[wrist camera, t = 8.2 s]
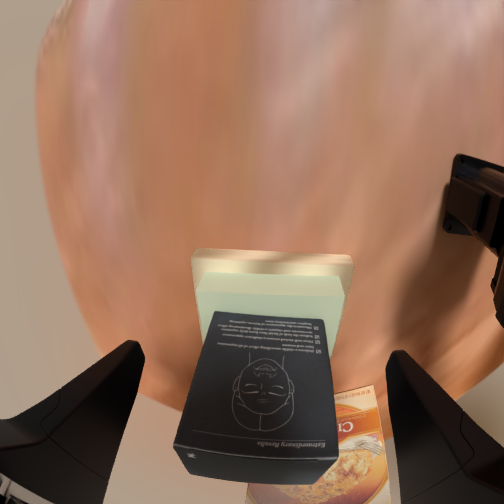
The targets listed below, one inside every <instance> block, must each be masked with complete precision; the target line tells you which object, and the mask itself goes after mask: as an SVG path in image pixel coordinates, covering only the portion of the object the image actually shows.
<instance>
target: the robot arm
mask: <svg viewBox="0 0 504 504" xmlns="http://www.w3.org/2000/svg"><path fill="white" fill-rule="evenodd" d="M461 158H462V162H461V163H460V159H461ZM503 173H504V167H502V166H500V165H497V164H494V163H491V162H487V161H484V160H481V159H478V158H474V157H471V156H468V155H464V154H457V155H456V157H455V162H454V170H453V176H452V180H451V186H450V191H449V197H448V202H447V207H446V213H445V218H444V222H443V230H444V231H445V232H447V233H452V234H462V235H471V236H475V237H476V238H477V239H478V240H479V241H480V242H481V243H483V244H484V245H485V246H486V247H487V248H488V249H489V250H490V251H491V252H493V253H494V254H495V255H496V256H497V257H498V262H497V267H496V271H495V275H494V278H493V279H492V281H491V285H490V286H491V289H492V291H493V294H494V299H493V301H494V305H495V309H496V311H497V312H496V315H495V316H496V318H497V320H498V321H499V323H500V324H501V326H502V327H503V328H504V174H503ZM448 225H450V226H449V228H447V227H448ZM144 363H145V356H144V353H143V351H142V348H141V346H140V344H139V342H138V341H134V340H127V341H125V342H124V343H123V344H121V345H120V346H118V347H117V348H116V349H114V350H113V351H111V352H110V353H109V354H107V355H106V356H105V357H103V358H102V359H100V360H99V361H98V362H97V363H95V364H93V365H92V366H91V367H89V368H88V369H86V370H85V371H84V372H82V373H81V374H80V375H78V376H77V377H75V378H74V379H73V380H71V381H70V382H68V383H67V384H66V385H64V386H63V387H62V388H61V389H59V390H57V391H56V392H54V393H53V394H52V395H50V396H49V397H47V398H46V399H44V400H43V401H41V402H39V403H38V404H36V405H34V406H33V407H31V408H29V409H27V410H26V411H24V412H22V413H20V414H19V415H17V416H15V417H13V418H10V419H3V420H2V419H0V504H103V500H104V497H105V493H106V489H107V486H108V481H109V478H110V475H111V471H112V468H113V465H114V462H115V458H116V455H117V452H118V449H119V446H120V442H121V439H122V436H123V433H124V430H125V427H126V424H127V421H128V418H129V416H130V413H131V410H132V407H133V404H134V401H135V398H136V395H137V392H138V387H139V383H140V379H141V375H142V371H143V367H144ZM386 381H387V393H388V405H389V413H390V419H391V424H392V430H393V437H394V443H395V450H396V457H397V466H398V474H399V483H400V496H401V504H504V448H503V447H502V446H501V445H500V444H499V443H498V442H497V441H495V440H494V439H493V438H492V437H491V436H490V435H488V434H487V433H486V432H485V431H484V430H483V429H482V428H481V427H480V426H478V425H477V424H476V423H475V422H474V421H473V420H472V419H471V418H470V417H469V416H468V414H467V413H465V411H463V409H462V408H461V407H460V406H459V405H458V404H457V403H456V402H455V401H454V400H453V399H452V398H451V397H450V396H449V395H448V394H447V393H446V392H445V391H444V390H443V389H442V387H441V386H440V385H439V384H438V383H437V382H436V381H435V380H434V379H433V378H432V377H431V376H430V375H429V374H428V373H427V372H426V371H425V370H424V369H423V368H422V367H421V366H420V365H419V364H418V363H417V362H416V361H415V360H414V359H413V358H412V357H411V356H410V355H409V354H408V353H407V352H406V351H404V350H394V351H393V352H392V353H391V355H390V358H389V360H388V362H387V365H386Z"/></svg>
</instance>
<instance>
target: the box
mask: <svg viewBox="0 0 504 504" xmlns="http://www.w3.org/2000/svg"><path fill="white" fill-rule="evenodd" d="M173 448H174V450H175V451H176V452H177V454H178V456H179V457H180V459H181V461H182V463H183V464H184V466H185V468H186V469H187V471H188V472H189V473H190V474H193V475H197V476H204V477H209V478H215V479H222V480H228V481H236V482H246V483H257V484H275V485H313V484H314V483H315V482H316V481H317V480H318V479H319V478H320V477H321V476H322V475H323V474H324V473H325V472H326V471H327V470H328V469H329V468H330V467H331V466H332V465H333V464H334V463H335V462H336V461H337V459H338V457H339V443H338V430H337V419H336V410H335V398H334V392H333V381H332V371H331V365H330V357H329V350H328V344H327V336H326V329H325V323H324V320H322V319H311V318H294V317H278V316H265V315H253V314H241V313H231V312H222V311H214V313H213V316H212V319H211V323H210V325H209V328H208V332H207V335H206V338H205V341H204V344H203V347H202V351H201V354H200V357H199V360H198V364H197V367H196V370H195V374H194V377H193V380H192V383H191V386H190V390H189V394H188V396H187V400H186V403H185V407H184V410H183V413H182V417H181V420H180V423H179V426H178V430H177V434H176V437H175V440H174V443H173Z"/></svg>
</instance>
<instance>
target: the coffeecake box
mask: <svg viewBox="0 0 504 504" xmlns="http://www.w3.org/2000/svg"><path fill="white" fill-rule="evenodd" d="M334 398H335V410H336V419H337V430H338V443H339V457H338V459H337V461H336V462H335V463H334V464H333V465H332V466H331V467H330V468H329V469H328V470H327V471H326V472H325V473H324V474H323V475H322V476H321V477H320V478H319V479H318V480H317V481H316V482H315V483H314V484H313V485H275V484H257V483H248V487H247V493H246V500H245V504H391V495H390V485H389V476H388V468H387V460H386V453H385V446H384V440H383V433H382V427H381V422H380V416H379V411H378V406H377V401H376V396H375V392H374V388H373V385H370V386H366V387H363V388H359V389H355V390H351V391H347V392H342V393H338V394H334Z"/></svg>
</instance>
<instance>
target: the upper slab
mask: <svg viewBox="0 0 504 504" xmlns="http://www.w3.org/2000/svg"><path fill="white" fill-rule="evenodd" d="M196 295H197V301H198V307H199V313H200V318H201V324H202V330H203V335H204V340H205V338H206V335H207V332H208V328H209V325H210V323H211V319H212V316H213V313H214V311H222V312H231V313H241V314H253V315H265V316H278V317H294V318H311V319H322V320H324V323H325V329H326V336H327V344H328V350H329V357H330V358H331V354H332V351H333V347H334V343H335V338H336V334H337V330H338V326H339V321H340V317H341V312H342V307H343V302H344V297H345V295H344V291H343V288H342V284H341V281H340V278H339V276H314V275H278V274H249V273H224V272H204V274H203V276H202V278H201V281H200V283H199V285H198V287H197V289H196Z"/></svg>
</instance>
